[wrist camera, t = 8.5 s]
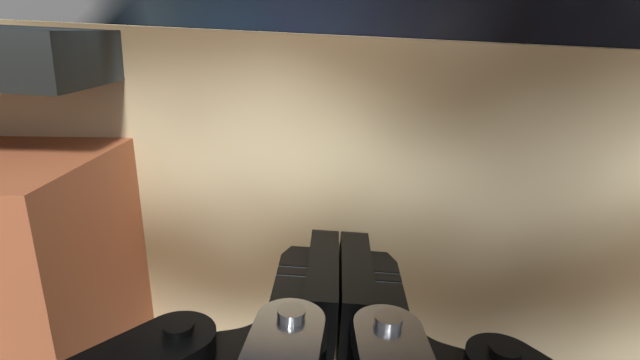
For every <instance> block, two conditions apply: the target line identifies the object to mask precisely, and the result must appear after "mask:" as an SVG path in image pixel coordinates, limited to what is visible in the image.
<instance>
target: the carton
mask: <svg viewBox="0 0 640 360" xmlns="http://www.w3.org/2000/svg"><path fill="white" fill-rule="evenodd" d="M151 319H154V314H153V305H152V297H151V288H150V280H149V271H148V263H147V254H146V246H145V237H144V229H143V220H142V212H141V203H140V195H139V186H138V178H137V169H136V160H135V152H134V143H133V138H108V137H35V136H0V360H65V359H67V358H69V357H71V356H74V355H76V354H78V353H80V352H82V351H84V350H87V349H89V348H91V347H93V346H95V345H97V344H100V343H102V342H104V341H106V340H108V339H110V338H113V337H115V336H117V335H119V334H121V333H123V332H125V331H128V330H130V329H132V328H134V327H136V326H138V325H141V324H143V323H145V322H147V321H149V320H151Z"/></svg>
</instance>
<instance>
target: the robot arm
mask: <svg viewBox="0 0 640 360" xmlns="http://www.w3.org/2000/svg"><path fill="white" fill-rule="evenodd" d="M65 360H553V359H551V358H550V357H548V356H546V355H545V354H543V353H541V352H540V351H538V350H536V349H535V348H533V347H531V346H529V345H528V344H526V343H524V342H522V341H521V340H519V339H516V338H514V337H511V336H508V335H504V334H500V333H480V334H476V335H474V336H472V337H470V338H469V339H468V340H467V342H466V345H465V349H462V348H459V347H455V346H451V345H448V344H445V343H441V342H439V341H436V340H434V339H432V338H430V337H428V336H427V335H426V333H425V331H424V328H423V326H422V323H421V322H420V320H419V319H418V318H417V317H416V316H415V315H414V314H412V313H411V312H410V311H409V307H408V303H407V299H406V295H405V291H404V287H403V284H402V279H401V275H400V271H399V267H398V263H397V261H396V260H395V259H394V258H393V257H392V256H391V255H390V254H388V253H387V252H379V251H371V250H370V243H369V236H368V233H361V232H346V231H341V237H340V249H339V231H330V230H314V229H312V235H311V243H310V247H302V246H291V247H289V248H288V249H287V250H286V251H285V252H283V253H282V254H281V257H280V261H279V266H278V269H277V273H276V277H275V281H274V285H273V289H272V293H271V296H270V300H269V303H267V304H265V305H264V306H262V307H261V308H260V309H259V311H258V313H257V315H256V317H255V319H254V322H253V323H252V324H250V325H248V326H245V327H241V328H237V329H231V330H224V331H217V332H216V324H215V322H214V321H213V320H212V319H211V318H210V317H209V316H207V315H205V314H203V313H200V312H196V311H175V312H169V313H166V314H163V315H160V316H158V317H156V318H154V319H151V320H149V321H147V322H145V323H143V324H141V325H138V326H136V327H134V328H132V329H130V330H128V331H125V332H123V333H121V334H119V335H117V336H115V337H113V338H110V339H108V340H106V341H104V342H102V343H100V344H97V345H95V346H93V347H91V348H89V349H87V350H84V351H82V352H80V353H78V354H76V355H74V356H71V357H69V358H67V359H65Z"/></svg>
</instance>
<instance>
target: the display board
mask: <svg viewBox="0 0 640 360" xmlns="http://www.w3.org/2000/svg"><path fill="white" fill-rule="evenodd" d="M0 136H35V137H108V138H133V143H134V152H135V160H136V169H137V178H138V186H139V195H140V203H141V212H142V220H143V229H144V237H145V246H146V254H147V263H148V271H149V280H150V288H151V297H152V305H153V314H154V318H156V317H158V316H160V315H163V314H166V313H169V312H175V311H196V312H200V313H203V314H205V315H207V316H209V317H210V318H211V319H212V320H213V321H214V322H215V324H216V332H217V331H224V330H231V329H237V328H241V327H245V326H248V325H250V324H252V323H253V322H254V319H255V317H256V315H257V313H258V311H259V309H260V308H261V307H262V306H264V305H265V304H267V303H269V300H270V296H271V293H272V289H273V285H274V281H275V277H276V273H277V269H278V266H279V261H280V257H281V254H282V253H283V252H285V251H286V250H287V249H288V248H289V247H291V246H302V247H310V243H311V235H312V229H314V230H330V231H339V249H340V237H341V231H346V232H361V233H368V236H369V243H370V250H371V251H379V252H387V253H388V254H390V255H391V256H392V257H393V258H394V259H395V260H396V261H397V263H398V267H399V271H400V275H401V279H402V284H403V287H404V291H405V295H406V299H407V303H408V307H409V311H410V312H411V313H412V314H414V315H415V316H416V317H417V318H418V319H419V320H420V322H421V323H422V326H423V328H424V331H425V333H426V335H427V336H428V337H430V338H432V339H434V340H436V341H439V342H441V343H445V344H448V345H451V346H455V347H459V348H462V349H465V345H466V342H467V340H468V339H469V338H470V337H472V336H474V335H476V334H480V333H500V334H504V335H508V336H511V337H514V338H516V339H519V340H521V341H522V342H524V343H526V344H528V345H529V346H531V347H533V348H535V349H536V350H538V351H540V352H541V353H543V354H545V355H546V356H548V357H550V358H551V359H553V360H640V49H625V48H604V47H582V46H561V45H540V44H519V43H497V42H476V41H455V40H434V39H412V38H391V37H370V36H349V35H327V34H306V33H285V32H264V31H242V30H221V29H200V28H179V27H157V26H136V25H115V24H94V23H72V22H51V21H29V20H9V19H0Z"/></svg>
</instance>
